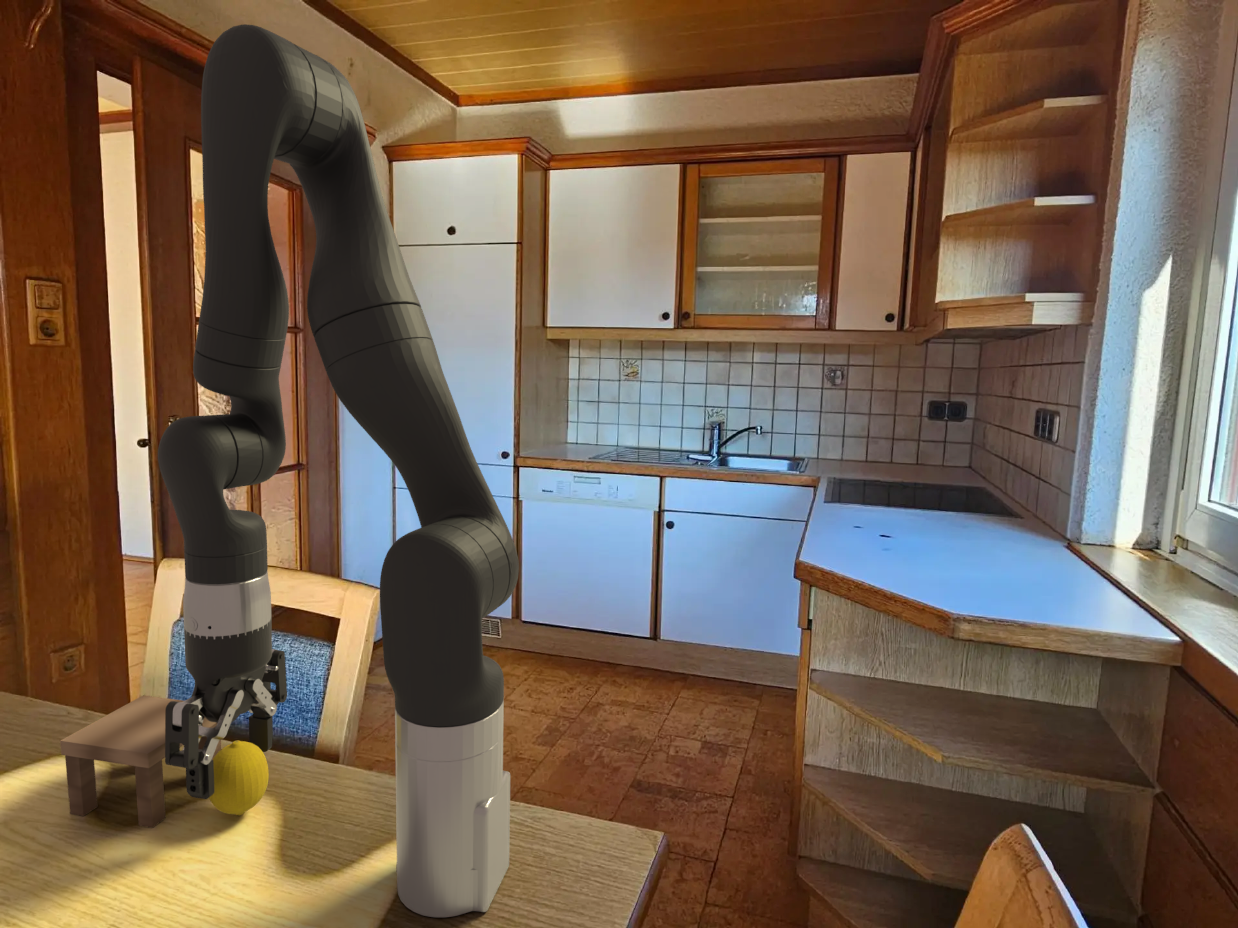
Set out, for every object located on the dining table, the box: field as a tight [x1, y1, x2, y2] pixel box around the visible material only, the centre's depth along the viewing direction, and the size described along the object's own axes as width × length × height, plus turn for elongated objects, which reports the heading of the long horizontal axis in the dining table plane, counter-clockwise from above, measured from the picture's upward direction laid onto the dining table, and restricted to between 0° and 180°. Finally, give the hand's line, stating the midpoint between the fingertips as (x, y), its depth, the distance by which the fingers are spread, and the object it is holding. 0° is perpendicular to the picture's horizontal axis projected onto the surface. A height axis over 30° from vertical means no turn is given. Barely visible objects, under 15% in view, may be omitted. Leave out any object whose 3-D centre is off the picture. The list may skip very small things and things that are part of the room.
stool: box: [59, 694, 222, 829], centre depth 76 cm, size 10×10×8 cm
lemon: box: [208, 740, 270, 817], centre depth 73 cm, size 6×6×8 cm
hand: (233, 771), depth 73 cm, fingers open, 8 cm apart
